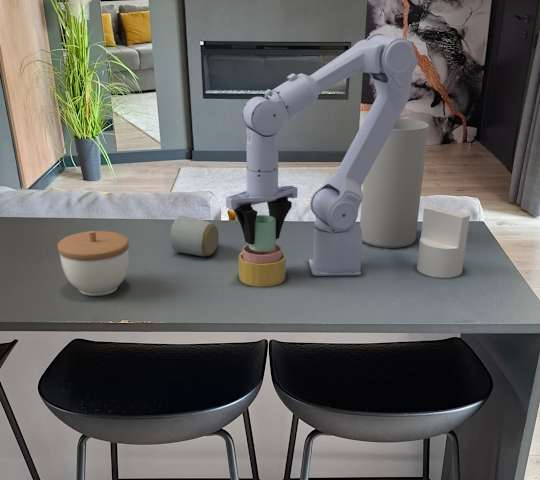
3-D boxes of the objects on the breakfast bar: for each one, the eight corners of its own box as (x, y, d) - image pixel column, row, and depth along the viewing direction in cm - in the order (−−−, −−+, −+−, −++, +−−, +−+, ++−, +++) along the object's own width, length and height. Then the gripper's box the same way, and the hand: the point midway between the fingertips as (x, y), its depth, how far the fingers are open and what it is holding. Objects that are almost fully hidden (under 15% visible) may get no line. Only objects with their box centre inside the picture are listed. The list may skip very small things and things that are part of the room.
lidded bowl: (59, 280, 136) (51, 225, 131) (125, 271, 140) (119, 217, 135) (69, 306, 126) (60, 247, 121) (139, 296, 130) (134, 238, 125)
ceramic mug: (205, 262, 145) (204, 225, 142) (170, 256, 148) (168, 220, 144) (227, 246, 154) (226, 212, 150) (193, 241, 156) (192, 207, 153)
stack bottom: (283, 268, 143) (283, 247, 140) (286, 286, 135) (287, 264, 133) (238, 269, 142) (238, 248, 140) (239, 287, 134) (239, 264, 132)
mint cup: (274, 242, 138) (274, 214, 135) (276, 251, 133) (276, 223, 131) (248, 242, 137) (248, 215, 135) (249, 251, 133) (249, 223, 130)
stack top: (279, 270, 142) (280, 241, 139) (282, 285, 135) (283, 255, 132) (242, 270, 142) (242, 241, 139) (243, 285, 135) (243, 255, 132)
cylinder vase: (382, 252, 151) (393, 132, 139) (347, 235, 160) (355, 121, 148) (427, 243, 156) (441, 126, 144) (391, 227, 166) (402, 116, 154)
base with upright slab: (408, 269, 143) (414, 211, 137) (431, 257, 149) (438, 201, 143) (447, 281, 137) (455, 221, 132) (470, 268, 143) (479, 211, 137)
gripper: (283, 158, 134) (282, 227, 141) (216, 168, 127) (218, 240, 134) (304, 166, 129) (302, 237, 136) (236, 177, 122) (238, 251, 129)
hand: (262, 240), depth 135 cm, fingers closed on mint cup, 5 cm apart
